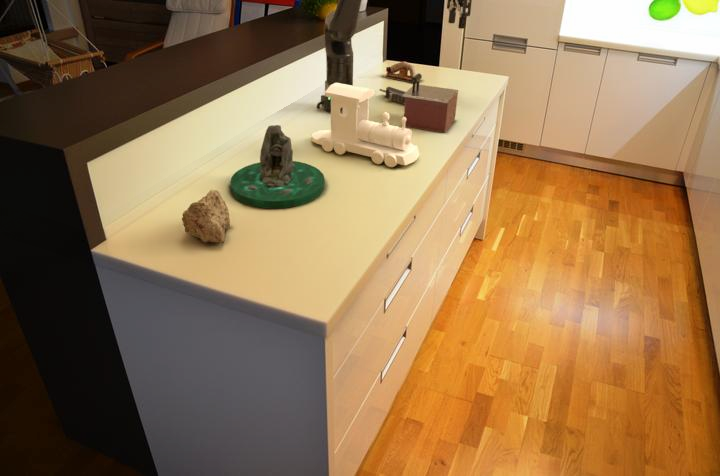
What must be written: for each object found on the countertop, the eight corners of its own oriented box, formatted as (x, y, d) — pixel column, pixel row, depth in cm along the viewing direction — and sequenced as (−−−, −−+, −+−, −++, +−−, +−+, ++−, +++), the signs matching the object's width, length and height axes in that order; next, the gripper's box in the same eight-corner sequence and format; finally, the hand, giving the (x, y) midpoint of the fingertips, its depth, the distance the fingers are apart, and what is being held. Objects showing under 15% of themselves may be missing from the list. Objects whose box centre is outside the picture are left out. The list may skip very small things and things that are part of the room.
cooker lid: (402, 96, 196) (404, 79, 193) (415, 86, 207) (416, 69, 204) (447, 103, 192) (449, 85, 189) (457, 92, 202) (459, 75, 199)
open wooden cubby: (403, 126, 201) (405, 97, 196) (415, 114, 211) (417, 86, 206) (444, 132, 197) (447, 103, 192) (454, 120, 207) (457, 92, 202)
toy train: (405, 171, 170) (410, 106, 160) (302, 145, 184) (301, 84, 174) (423, 157, 179) (429, 94, 169) (324, 133, 193) (324, 75, 184)
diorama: (217, 203, 150) (211, 147, 143) (247, 163, 172) (243, 113, 164) (313, 212, 148) (312, 155, 140) (332, 170, 169) (332, 119, 161)
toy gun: (463, 110, 218) (437, 119, 208) (397, 89, 236) (371, 96, 227) (464, 100, 216) (438, 109, 207) (398, 80, 234) (371, 87, 225)
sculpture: (388, 73, 255) (389, 56, 251) (422, 80, 248) (424, 62, 244) (381, 77, 250) (382, 60, 246) (415, 84, 243) (417, 66, 239)
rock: (167, 214, 132) (199, 198, 128) (198, 195, 143) (228, 179, 139) (193, 256, 135) (225, 242, 130) (221, 234, 146) (252, 220, 141)
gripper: (443, -28, 206) (438, 21, 214) (460, -22, 194) (454, 30, 202) (463, -28, 208) (457, 21, 216) (481, -22, 196) (475, 30, 204)
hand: (456, 25), depth 209 cm, fingers open, 8 cm apart
